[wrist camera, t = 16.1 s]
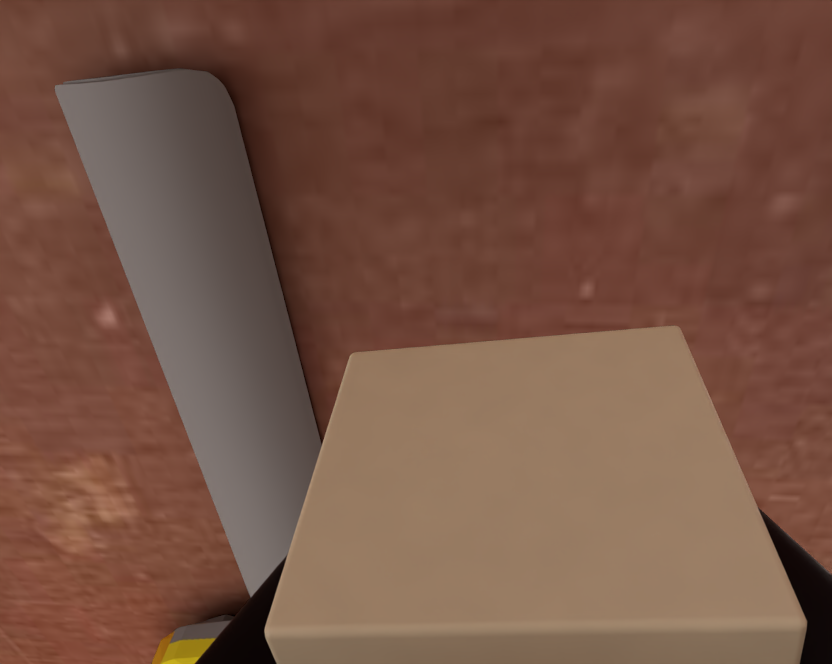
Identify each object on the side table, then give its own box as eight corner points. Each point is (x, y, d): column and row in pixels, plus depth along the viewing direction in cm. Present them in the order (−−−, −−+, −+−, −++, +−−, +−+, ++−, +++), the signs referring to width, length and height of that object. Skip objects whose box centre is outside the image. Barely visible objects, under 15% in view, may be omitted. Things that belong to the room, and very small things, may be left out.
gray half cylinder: (254, 593, 27) (240, 634, 26) (56, 72, 17) (14, 89, 15) (361, 592, 26) (353, 634, 25) (222, 51, 16) (195, 67, 15)
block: (680, 321, 8) (813, 623, 5) (670, 555, 10) (759, 882, 7) (349, 350, 9) (258, 633, 5) (402, 563, 11) (361, 867, 7)
